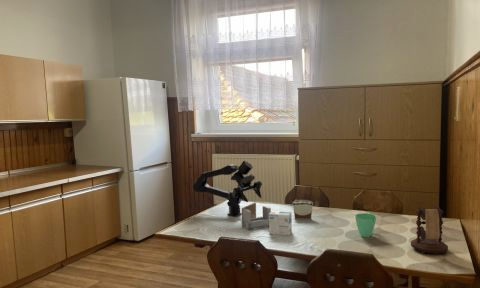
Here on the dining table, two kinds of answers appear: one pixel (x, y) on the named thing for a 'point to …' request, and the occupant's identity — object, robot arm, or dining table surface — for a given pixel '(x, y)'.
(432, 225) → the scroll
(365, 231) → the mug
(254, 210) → the cover
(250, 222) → the grey u-channel
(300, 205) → the food container
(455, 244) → the dining table surface
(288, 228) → the light bulb box
